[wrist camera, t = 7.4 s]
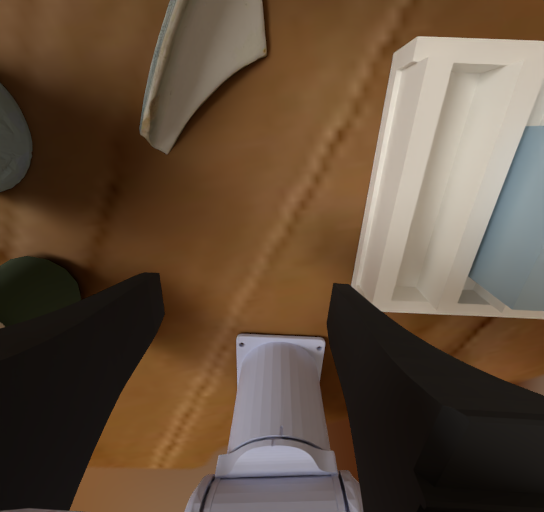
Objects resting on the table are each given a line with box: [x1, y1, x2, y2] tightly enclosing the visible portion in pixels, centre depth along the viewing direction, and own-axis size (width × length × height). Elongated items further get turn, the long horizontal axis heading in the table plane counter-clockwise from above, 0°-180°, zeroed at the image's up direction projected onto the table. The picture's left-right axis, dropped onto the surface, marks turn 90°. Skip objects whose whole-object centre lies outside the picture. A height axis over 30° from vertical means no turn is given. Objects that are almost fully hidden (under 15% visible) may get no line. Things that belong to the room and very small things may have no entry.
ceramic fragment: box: [139, 0, 267, 154], centre depth 15 cm, size 14×5×4 cm, turn 149°
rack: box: [351, 36, 544, 319], centre depth 17 cm, size 16×15×4 cm
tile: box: [468, 126, 544, 311], centre depth 15 cm, size 9×2×6 cm, turn 178°
